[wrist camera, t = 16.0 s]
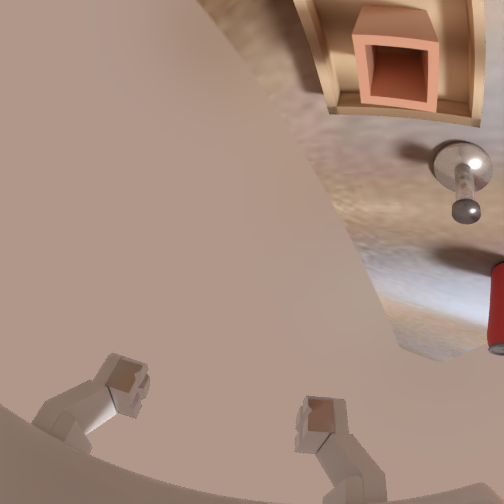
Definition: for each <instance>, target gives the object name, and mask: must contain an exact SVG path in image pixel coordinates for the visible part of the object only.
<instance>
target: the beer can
mask: <svg viewBox="0 0 504 504" xmlns="http://www.w3.org/2000/svg"><path fill="white" fill-rule="evenodd" d="M487 340H488V345H489V349H488V350H489V352H490V353H492V354H495V355H499V356H504V262H503V263H500V264H498V265H497V266H496V267H495V268H494V269H493V270H492V273H491V293H490V309H489V321H488V330H487Z"/></svg>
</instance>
